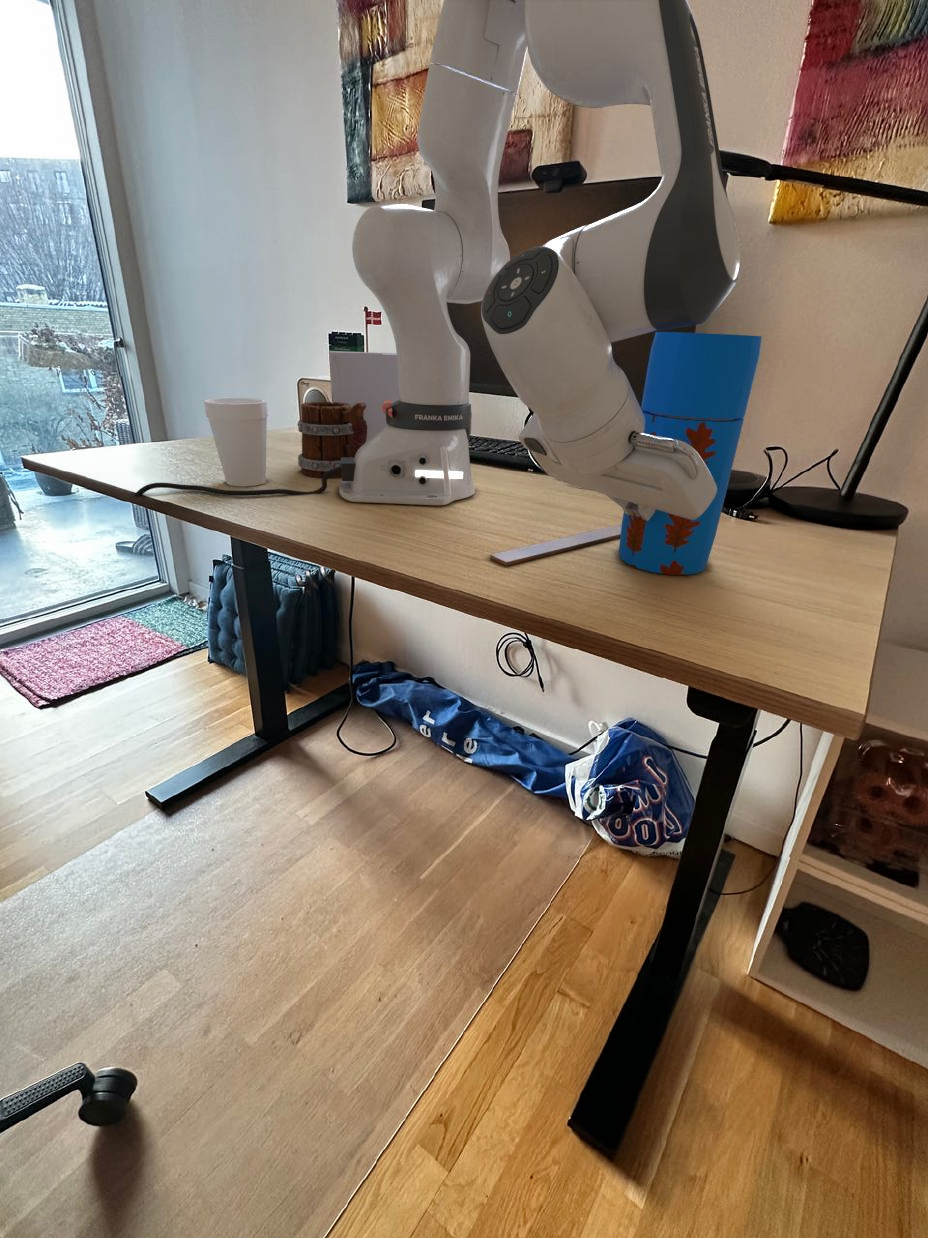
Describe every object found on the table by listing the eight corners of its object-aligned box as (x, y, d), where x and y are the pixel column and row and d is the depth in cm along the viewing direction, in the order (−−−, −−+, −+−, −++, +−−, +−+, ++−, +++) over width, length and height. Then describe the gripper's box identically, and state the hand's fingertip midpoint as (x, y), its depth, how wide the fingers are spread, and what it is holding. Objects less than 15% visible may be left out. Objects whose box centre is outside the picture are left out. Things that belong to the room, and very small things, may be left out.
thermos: (717, 579, 66) (779, 336, 55) (622, 571, 67) (664, 331, 56) (696, 548, 76) (745, 336, 65) (613, 541, 77) (647, 332, 66)
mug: (328, 459, 116) (333, 381, 108) (381, 483, 110) (390, 402, 102) (281, 468, 107) (282, 383, 99) (336, 495, 101) (343, 407, 93)
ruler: (506, 566, 68) (506, 562, 67) (489, 558, 70) (490, 554, 70) (663, 526, 84) (663, 523, 84) (646, 521, 86) (646, 518, 86)
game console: (467, 458, 124) (471, 356, 115) (337, 460, 117) (331, 351, 108) (459, 452, 129) (463, 354, 120) (335, 455, 122) (328, 350, 113)
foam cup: (234, 474, 103) (223, 396, 97) (284, 477, 102) (276, 399, 96) (205, 486, 95) (192, 402, 89) (259, 490, 94) (249, 405, 88)
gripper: (710, 415, 48) (743, 513, 58) (541, 391, 63) (590, 473, 73) (667, 474, 48) (708, 563, 58) (507, 436, 62) (561, 512, 72)
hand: (641, 512), depth 65 cm, fingers closed, pressing on thermos
